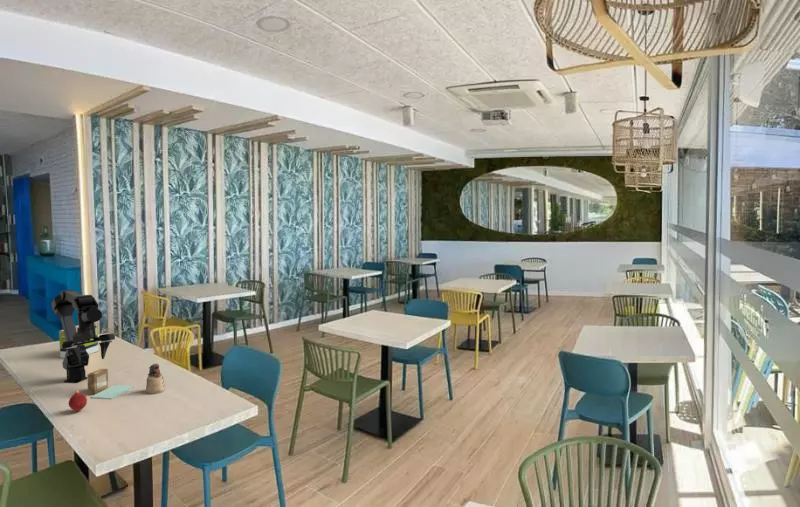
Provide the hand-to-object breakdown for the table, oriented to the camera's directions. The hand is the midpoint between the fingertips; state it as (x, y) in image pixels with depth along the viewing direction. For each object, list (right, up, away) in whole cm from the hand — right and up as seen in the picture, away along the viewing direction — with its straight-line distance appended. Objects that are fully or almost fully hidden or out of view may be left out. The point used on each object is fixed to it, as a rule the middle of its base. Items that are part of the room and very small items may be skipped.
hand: (91, 361), depth 206 cm
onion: (+8, -15, -20) cm, 26 cm away
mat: (+9, -13, -1) cm, 16 cm away
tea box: (-38, -8, +51) cm, 64 cm away
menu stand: (+3, -13, 0) cm, 13 cm away
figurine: (+26, -13, +2) cm, 29 cm away
